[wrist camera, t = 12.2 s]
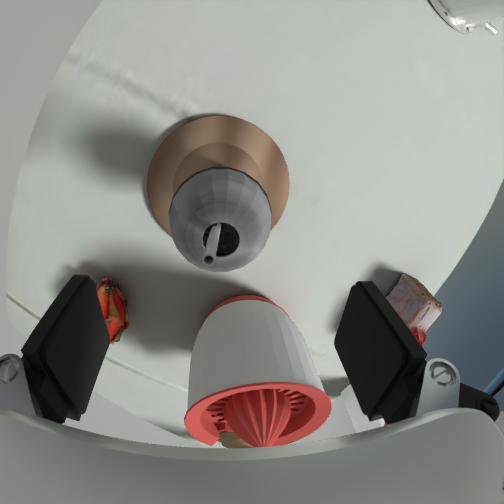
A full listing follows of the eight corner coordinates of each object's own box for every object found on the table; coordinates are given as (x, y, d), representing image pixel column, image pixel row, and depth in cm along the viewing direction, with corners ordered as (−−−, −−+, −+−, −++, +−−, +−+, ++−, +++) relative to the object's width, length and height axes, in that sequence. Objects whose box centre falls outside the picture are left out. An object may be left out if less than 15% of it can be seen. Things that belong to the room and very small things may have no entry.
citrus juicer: (176, 352, 41) (165, 466, 23) (214, 264, 35) (214, 400, 17) (262, 374, 45) (282, 475, 27) (316, 300, 39) (371, 414, 21)
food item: (377, 340, 45) (401, 377, 36) (349, 331, 43) (372, 373, 34) (422, 282, 40) (455, 314, 32) (397, 266, 38) (433, 301, 29)
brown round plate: (293, 122, 28) (296, 121, 27) (279, 251, 35) (281, 255, 34) (150, 117, 26) (147, 116, 25) (152, 248, 33) (151, 252, 32)
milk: (357, 394, 53) (389, 472, 33) (339, 392, 51) (371, 477, 31) (375, 378, 51) (413, 457, 31) (358, 375, 49) (397, 462, 29)
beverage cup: (205, 228, 31) (195, 363, 13) (174, 173, 28) (104, 251, 10) (263, 199, 30) (328, 306, 12) (234, 141, 27) (266, 161, 9)
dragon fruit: (97, 319, 38) (120, 259, 36) (128, 356, 36) (156, 295, 34) (56, 328, 30) (73, 259, 28) (86, 372, 28) (107, 303, 26)
